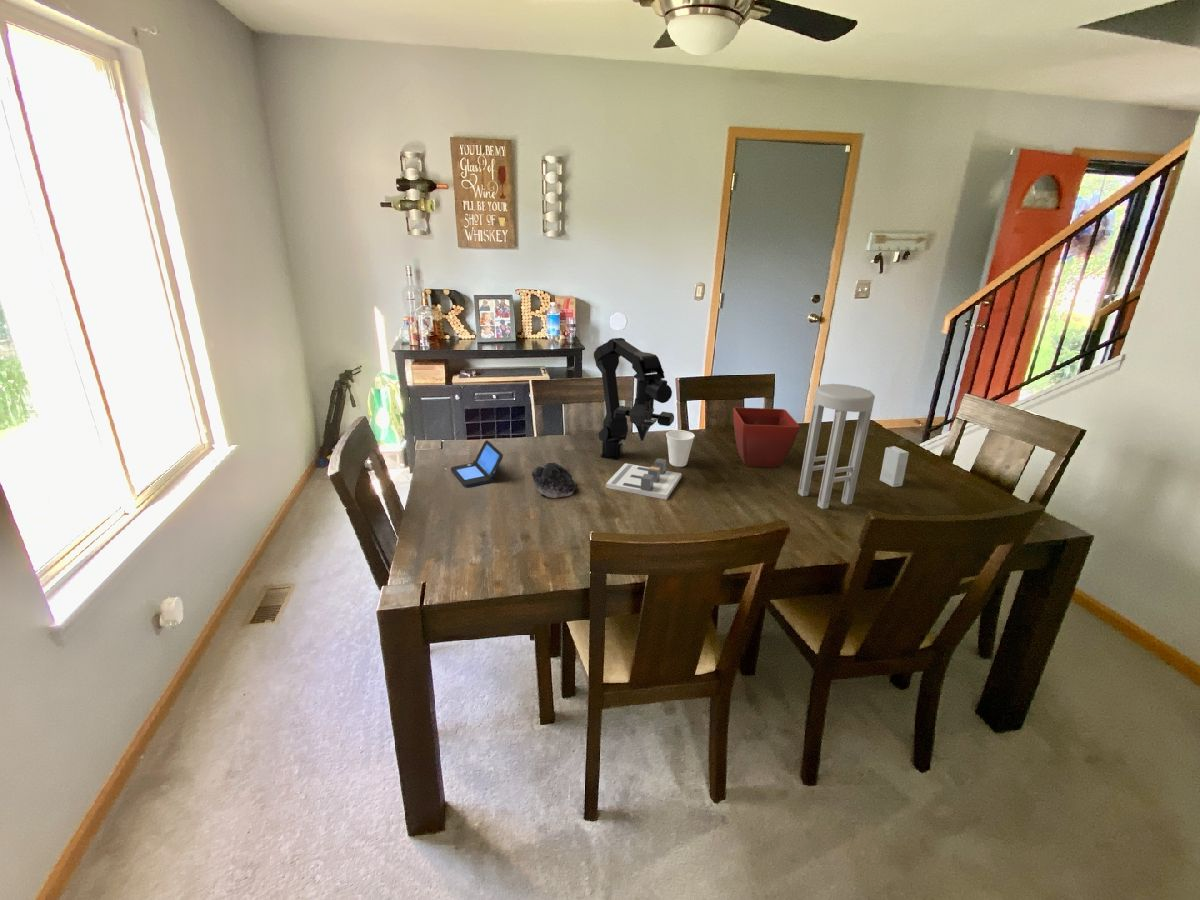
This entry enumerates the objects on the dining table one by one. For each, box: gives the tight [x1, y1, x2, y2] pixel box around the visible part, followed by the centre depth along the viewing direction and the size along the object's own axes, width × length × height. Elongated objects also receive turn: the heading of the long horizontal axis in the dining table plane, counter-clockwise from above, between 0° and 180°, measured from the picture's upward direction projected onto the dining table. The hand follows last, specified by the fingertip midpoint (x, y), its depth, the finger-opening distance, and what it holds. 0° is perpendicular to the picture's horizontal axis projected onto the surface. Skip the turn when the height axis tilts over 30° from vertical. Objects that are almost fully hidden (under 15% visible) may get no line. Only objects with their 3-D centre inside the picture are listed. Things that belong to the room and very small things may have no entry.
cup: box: [665, 429, 696, 468], centre depth 199 cm, size 10×10×11 cm
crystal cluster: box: [531, 462, 577, 499], centre depth 177 cm, size 13×14×10 cm
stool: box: [797, 383, 876, 510], centre depth 171 cm, size 16×16×35 cm
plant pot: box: [733, 406, 801, 468], centre depth 202 cm, size 19×19×17 cm
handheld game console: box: [450, 439, 504, 488], centre depth 186 cm, size 16×13×9 cm
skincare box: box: [879, 445, 910, 488], centre depth 188 cm, size 6×4×12 cm
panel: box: [605, 463, 682, 500], centre depth 185 cm, size 20×18×2 cm
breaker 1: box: [641, 474, 654, 491], centre depth 177 cm, size 3×4×4 cm
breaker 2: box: [653, 457, 667, 475], centre depth 189 cm, size 3×4×4 cm
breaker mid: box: [648, 465, 661, 483], centre depth 183 cm, size 3×4×4 cm
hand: (642, 440), depth 186 cm, fingers closed
